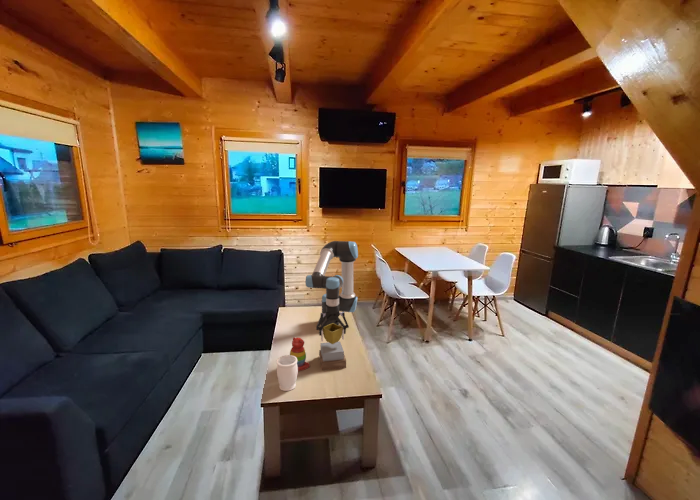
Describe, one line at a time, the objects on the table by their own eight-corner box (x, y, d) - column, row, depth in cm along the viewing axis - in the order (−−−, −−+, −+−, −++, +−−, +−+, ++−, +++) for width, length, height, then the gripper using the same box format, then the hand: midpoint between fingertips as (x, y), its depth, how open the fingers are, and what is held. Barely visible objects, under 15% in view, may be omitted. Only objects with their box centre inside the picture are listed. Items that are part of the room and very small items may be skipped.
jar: (279, 394, 156) (278, 367, 153) (275, 382, 165) (274, 357, 162) (300, 389, 160) (299, 363, 157) (295, 378, 169) (294, 353, 166)
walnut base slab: (319, 357, 191) (319, 350, 190) (342, 355, 193) (342, 348, 192) (321, 370, 177) (321, 362, 176) (346, 368, 180) (346, 360, 179)
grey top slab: (320, 350, 189) (320, 343, 188) (339, 348, 192) (340, 341, 191) (323, 361, 178) (323, 353, 177) (343, 359, 180) (343, 351, 179)
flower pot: (321, 341, 183) (321, 327, 181) (332, 336, 189) (332, 322, 187) (332, 346, 177) (332, 332, 175) (343, 341, 183) (343, 327, 181)
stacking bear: (311, 366, 181) (311, 337, 177) (297, 374, 173) (297, 344, 170) (299, 359, 188) (298, 332, 184) (285, 366, 180) (284, 338, 176)
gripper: (312, 308, 172) (312, 344, 177) (354, 305, 177) (353, 341, 181) (311, 303, 180) (311, 338, 184) (351, 301, 184) (351, 335, 189)
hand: (332, 339), depth 183 cm, fingers closed on flower pot, 12 cm apart
